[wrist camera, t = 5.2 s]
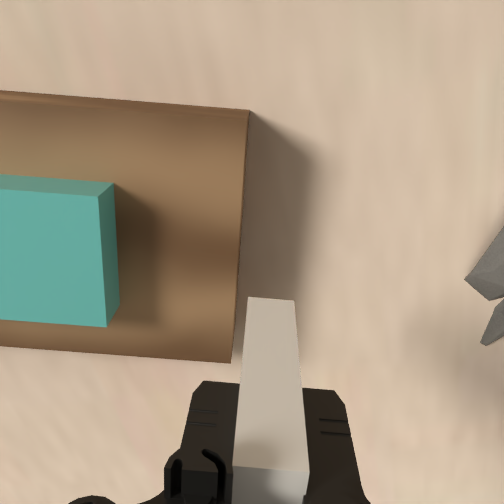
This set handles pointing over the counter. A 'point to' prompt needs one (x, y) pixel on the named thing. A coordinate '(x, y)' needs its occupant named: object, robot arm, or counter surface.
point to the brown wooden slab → (143, 216)
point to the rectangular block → (58, 251)
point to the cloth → (491, 285)
